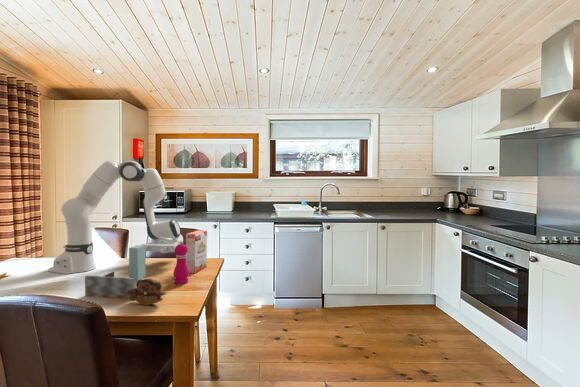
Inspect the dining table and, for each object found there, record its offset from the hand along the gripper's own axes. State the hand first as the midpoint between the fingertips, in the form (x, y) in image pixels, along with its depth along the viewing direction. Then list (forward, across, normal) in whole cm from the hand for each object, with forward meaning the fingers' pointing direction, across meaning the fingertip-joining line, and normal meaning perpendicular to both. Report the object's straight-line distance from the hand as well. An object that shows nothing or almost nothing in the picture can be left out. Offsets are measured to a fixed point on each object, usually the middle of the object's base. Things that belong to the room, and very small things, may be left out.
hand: (151, 250), depth 175 cm
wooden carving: (+42, +23, +12) cm, 49 cm away
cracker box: (-8, +22, +12) cm, 26 cm away
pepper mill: (+14, +24, +12) cm, 30 cm away
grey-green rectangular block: (+12, 0, +11) cm, 17 cm away
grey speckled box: (+29, +4, +11) cm, 32 cm away
